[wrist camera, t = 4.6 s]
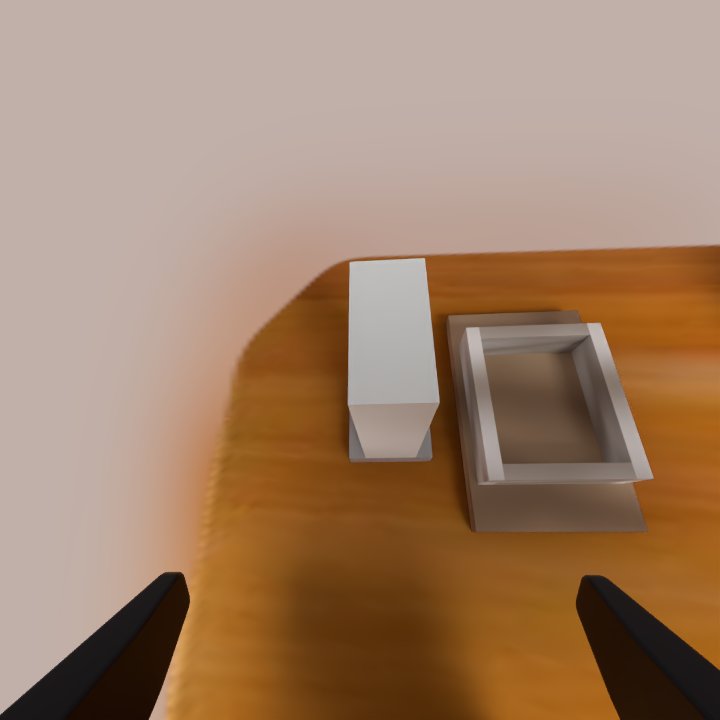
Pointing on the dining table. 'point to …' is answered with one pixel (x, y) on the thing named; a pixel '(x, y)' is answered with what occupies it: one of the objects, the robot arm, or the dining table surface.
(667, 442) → the dining table surface
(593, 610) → the robot arm
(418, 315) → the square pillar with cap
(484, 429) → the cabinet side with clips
